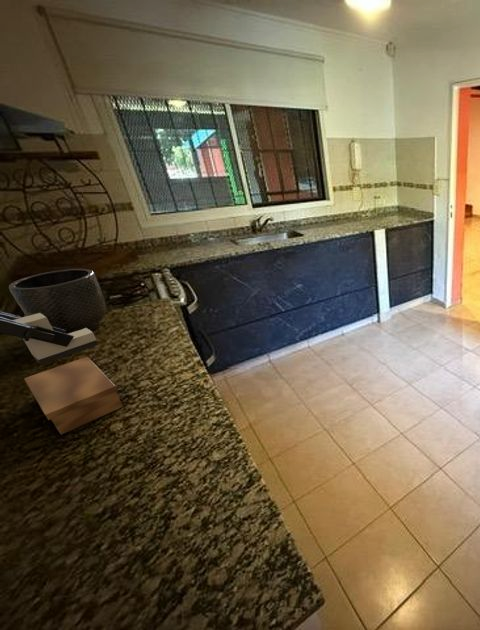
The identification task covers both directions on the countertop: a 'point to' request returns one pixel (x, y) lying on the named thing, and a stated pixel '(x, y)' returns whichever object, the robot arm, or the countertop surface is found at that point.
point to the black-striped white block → (50, 351)
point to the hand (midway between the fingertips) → (65, 338)
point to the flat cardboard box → (74, 394)
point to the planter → (62, 298)
